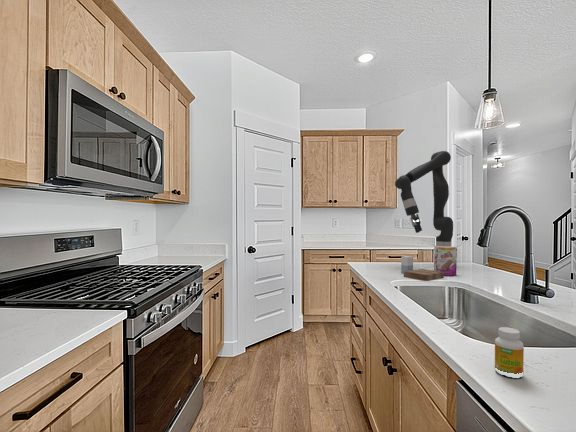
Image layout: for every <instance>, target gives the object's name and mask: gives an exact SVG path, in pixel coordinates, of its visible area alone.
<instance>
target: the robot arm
mask: <svg viewBox="0 0 576 432" xmlns="http://www.w3.org/2000/svg"><path fill="white" fill-rule="evenodd" d="M451 158H452V156H451V154H450V152H448V151H446V150H441V151H437V152H433V153H432V154H431V156H430V159H429V161H427V162H424V163H423V164H421V165H418V166H416V167H414V168H413V169H411V170H410V171H408V172H407V173H406V174H403V175H400V176H399V177H398V178H397V179H396V180H395V182H394V186H395V188H396V189H398V190H400V191H401V193H400V198H401V201H402V205H403V208H404V211H405V214H406V216H410V218H409V220H410V222H411V225H412V227H413V228H414V231H415V233H416V234H418V233H420V232H421V231H423V228H422V225H421V224H422V222H421V219H420V217H419V214H418V213H420V211H419V207H418V205H417V202H416V199H415V197H414V195H413V192H412V183H414V182H416V181H417V180H419V179H421V178H422V177H424V176H425V175H427V174H429V173H430V172H432V185H433V187H432V188H433V191H432V193H433V218H432V220H433V221H432V222H433V223H432V225H433V228H434V229H435V230H436V231H440V233H439V235H437V236H435V246H444V247H452V240H453V235H454V221H453V219H452V217H450V216H445V213H444V212H445V207H446V204H447V202H448V200H449V196H450V188H449V183H448V181H447V180H446V177H445V175H444V170H443V169H444V168H443V166H446V165H448V164H449V163H450V162H451Z"/></svg>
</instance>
